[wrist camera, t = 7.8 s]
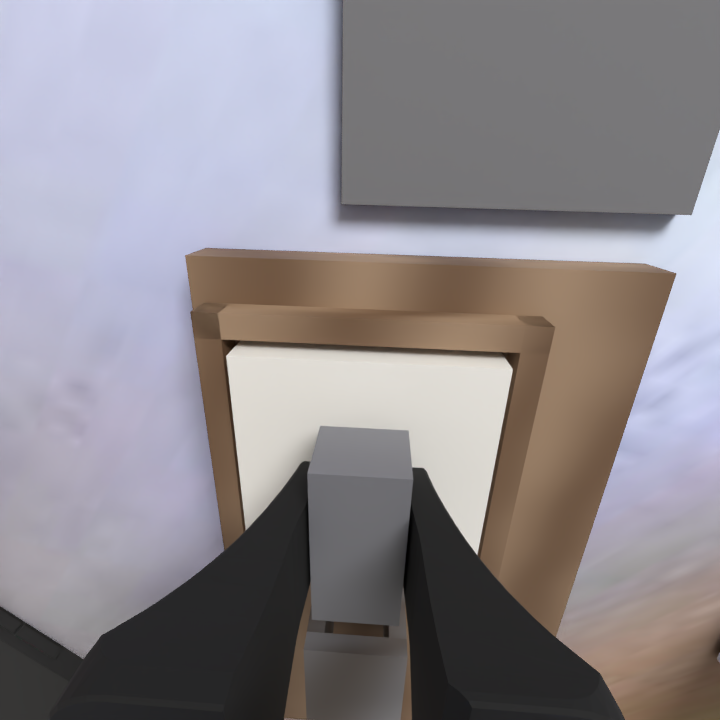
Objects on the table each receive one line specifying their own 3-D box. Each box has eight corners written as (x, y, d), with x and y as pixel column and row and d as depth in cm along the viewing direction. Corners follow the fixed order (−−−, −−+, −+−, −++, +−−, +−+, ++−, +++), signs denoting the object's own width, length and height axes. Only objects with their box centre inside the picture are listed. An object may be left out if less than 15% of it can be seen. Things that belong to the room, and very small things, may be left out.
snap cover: (498, 348, 13) (554, 429, 9) (465, 541, 16) (493, 667, 12) (243, 337, 13) (176, 410, 9) (260, 528, 16) (218, 646, 12)
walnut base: (645, 263, 13) (788, 308, 8) (513, 703, 22) (547, 838, 18) (205, 248, 13) (112, 282, 9) (257, 682, 23) (225, 808, 18)
